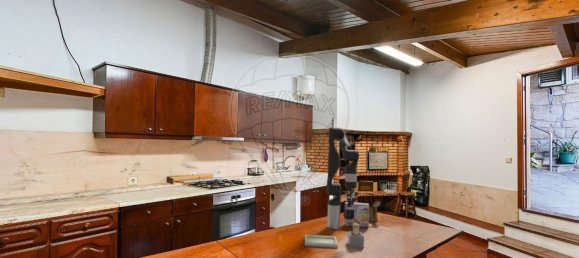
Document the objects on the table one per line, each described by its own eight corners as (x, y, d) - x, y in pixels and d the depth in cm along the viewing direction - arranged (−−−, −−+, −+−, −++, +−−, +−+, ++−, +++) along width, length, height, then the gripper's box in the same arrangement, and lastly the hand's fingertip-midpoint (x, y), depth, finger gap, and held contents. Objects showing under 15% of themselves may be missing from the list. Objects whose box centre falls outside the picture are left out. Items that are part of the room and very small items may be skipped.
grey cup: (347, 242, 191) (348, 231, 192) (361, 243, 191) (361, 232, 191) (349, 247, 183) (349, 235, 183) (363, 247, 182) (363, 236, 182)
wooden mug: (372, 223, 237) (373, 200, 238) (364, 218, 251) (365, 197, 251) (382, 223, 239) (383, 200, 240) (374, 218, 253) (374, 197, 253)
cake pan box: (343, 225, 230) (343, 202, 230) (343, 223, 234) (344, 201, 235) (368, 228, 224) (369, 204, 225) (368, 226, 229) (369, 203, 229)
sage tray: (305, 238, 196) (305, 234, 196) (335, 240, 195) (335, 236, 195) (304, 246, 182) (304, 242, 182) (337, 248, 181) (337, 243, 181)
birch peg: (351, 243, 189) (352, 223, 189) (358, 244, 189) (358, 223, 189) (352, 246, 185) (353, 225, 185) (359, 246, 185) (359, 225, 185)
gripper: (347, 179, 202) (347, 203, 201) (342, 181, 189) (342, 207, 188) (358, 180, 199) (358, 204, 198) (354, 181, 186) (354, 208, 185)
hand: (350, 205), depth 193 cm, fingers open, 8 cm apart
